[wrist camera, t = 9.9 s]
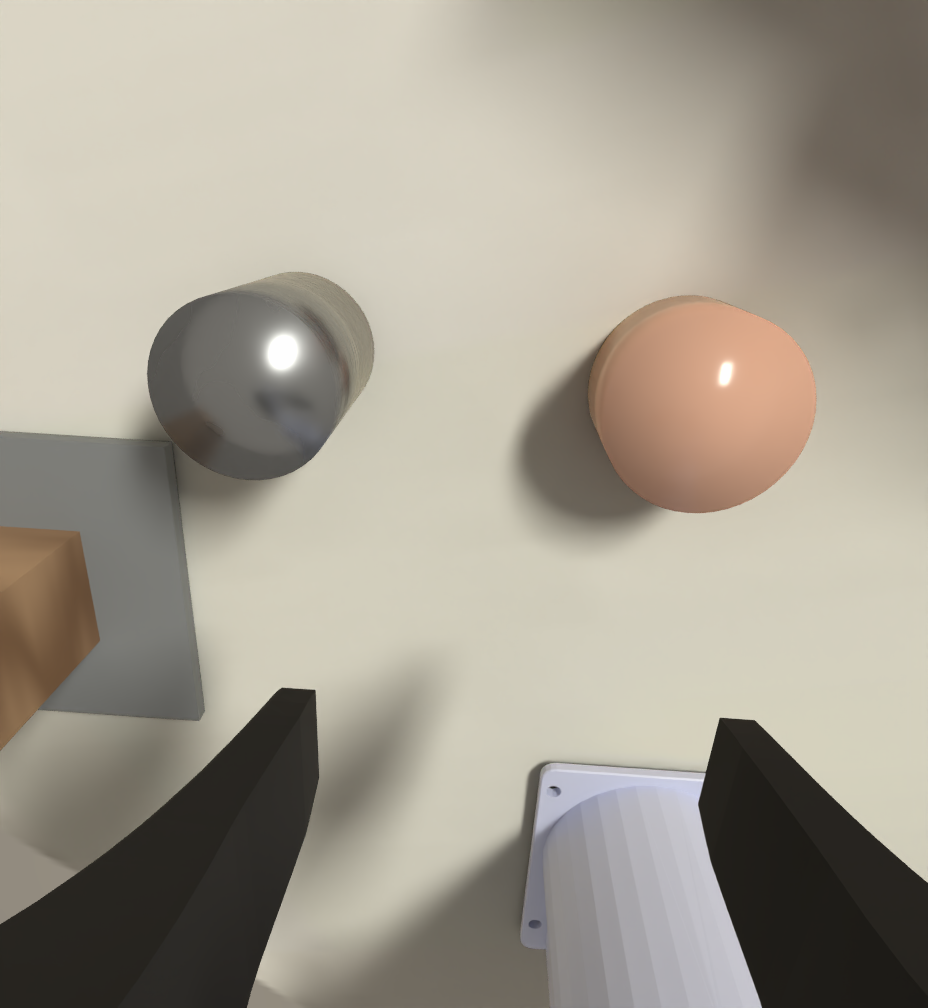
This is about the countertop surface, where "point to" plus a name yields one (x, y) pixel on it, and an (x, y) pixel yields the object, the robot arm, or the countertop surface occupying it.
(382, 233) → the countertop surface
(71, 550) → the walnut block
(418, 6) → the countertop surface
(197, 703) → the slate mat
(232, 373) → the shiny grey rounded piece
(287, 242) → the countertop surface
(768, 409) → the peach dome knob
